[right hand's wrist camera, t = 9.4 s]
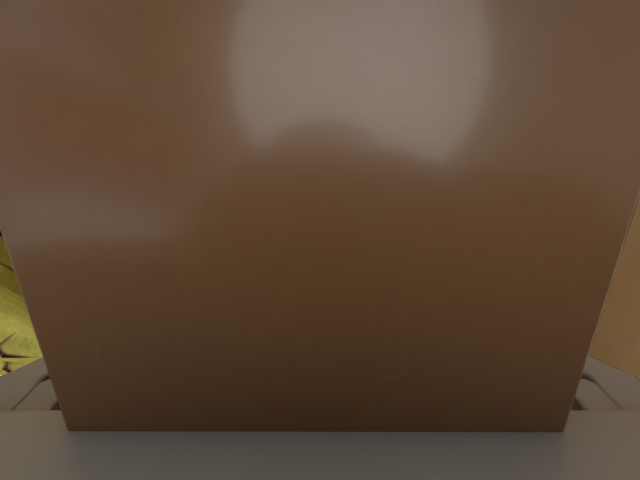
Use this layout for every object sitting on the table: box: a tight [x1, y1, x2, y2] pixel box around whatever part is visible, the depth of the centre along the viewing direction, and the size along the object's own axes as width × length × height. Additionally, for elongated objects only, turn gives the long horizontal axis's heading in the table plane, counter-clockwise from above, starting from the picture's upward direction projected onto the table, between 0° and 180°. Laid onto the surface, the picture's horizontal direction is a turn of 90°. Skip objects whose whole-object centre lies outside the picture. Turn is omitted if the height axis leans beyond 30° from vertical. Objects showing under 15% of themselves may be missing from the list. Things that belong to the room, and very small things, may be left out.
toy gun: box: [0, 236, 43, 375], centre depth 25 cm, size 5×24×15 cm
